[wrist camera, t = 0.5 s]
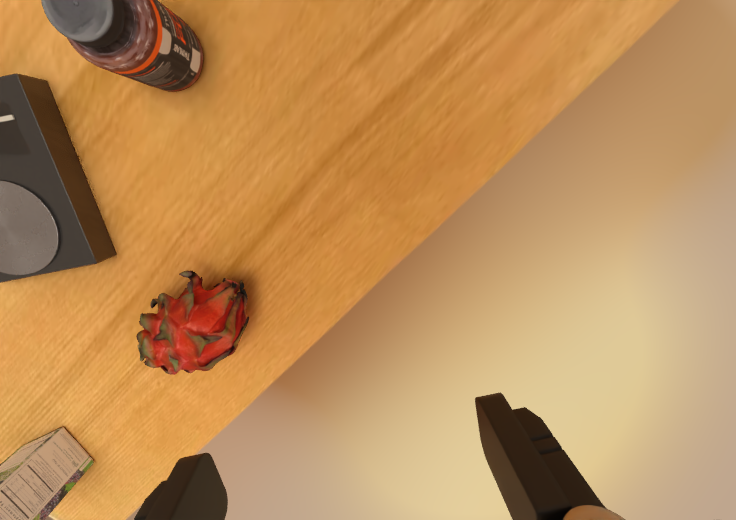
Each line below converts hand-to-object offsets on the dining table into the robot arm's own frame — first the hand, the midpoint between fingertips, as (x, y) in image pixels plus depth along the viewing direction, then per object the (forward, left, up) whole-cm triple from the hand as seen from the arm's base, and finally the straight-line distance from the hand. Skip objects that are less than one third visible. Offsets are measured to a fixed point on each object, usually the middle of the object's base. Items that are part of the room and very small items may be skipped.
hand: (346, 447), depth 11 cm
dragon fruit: (+4, -16, -27) cm, 32 cm away
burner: (-8, -29, -24) cm, 38 cm away
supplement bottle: (-19, -12, -27) cm, 35 cm away
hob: (-11, -29, -27) cm, 41 cm away
